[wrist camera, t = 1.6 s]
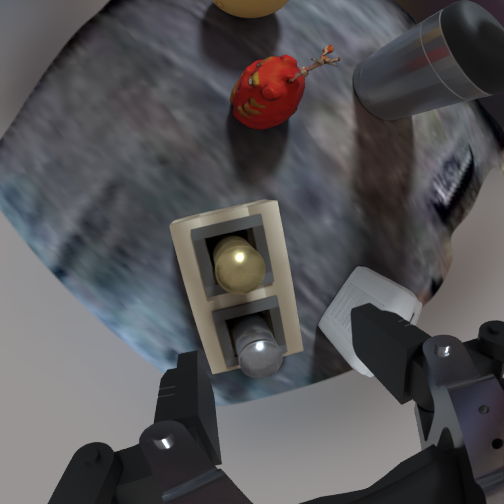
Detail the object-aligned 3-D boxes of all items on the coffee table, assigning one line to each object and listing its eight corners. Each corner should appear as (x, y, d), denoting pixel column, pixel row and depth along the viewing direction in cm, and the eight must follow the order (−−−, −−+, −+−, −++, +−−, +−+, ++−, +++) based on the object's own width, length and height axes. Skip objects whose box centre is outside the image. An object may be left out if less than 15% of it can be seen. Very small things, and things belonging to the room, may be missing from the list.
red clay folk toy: (244, 66, 29) (272, -8, 15) (299, 88, 31) (359, 32, 16) (220, 121, 30) (234, 67, 16) (279, 143, 32) (335, 110, 17)
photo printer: (335, 339, 38) (380, 390, 26) (311, 327, 37) (354, 379, 25) (377, 275, 37) (438, 307, 25) (356, 259, 36) (416, 288, 24)
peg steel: (264, 309, 29) (279, 336, 24) (271, 340, 30) (285, 371, 24) (228, 318, 29) (234, 347, 23) (236, 349, 30) (244, 382, 24)
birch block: (264, 199, 33) (278, 201, 26) (288, 327, 36) (305, 353, 30) (175, 219, 32) (168, 226, 25) (210, 347, 35) (212, 377, 29)
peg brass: (247, 230, 28) (260, 240, 22) (255, 268, 28) (269, 287, 23) (208, 239, 27) (210, 252, 21) (217, 277, 28) (221, 299, 22)
